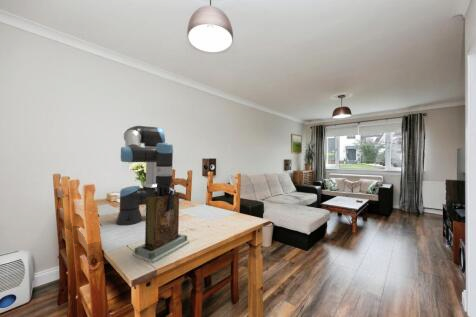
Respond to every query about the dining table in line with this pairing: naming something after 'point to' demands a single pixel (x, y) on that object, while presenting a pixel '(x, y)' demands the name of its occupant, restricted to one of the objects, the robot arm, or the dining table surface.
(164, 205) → the book
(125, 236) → the dining table surface
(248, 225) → the dining table surface
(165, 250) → the tray
